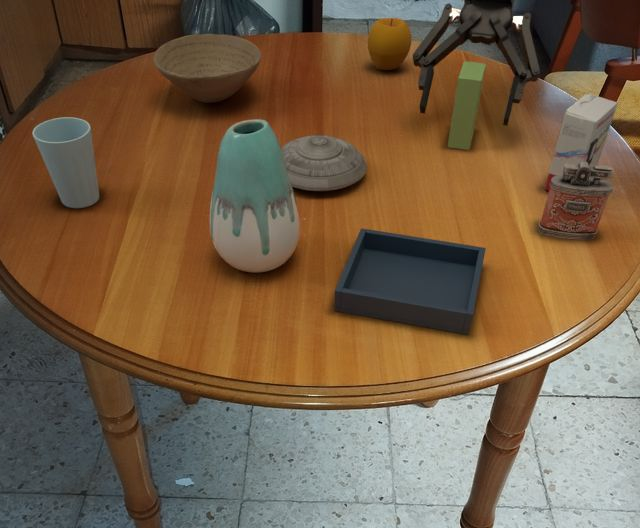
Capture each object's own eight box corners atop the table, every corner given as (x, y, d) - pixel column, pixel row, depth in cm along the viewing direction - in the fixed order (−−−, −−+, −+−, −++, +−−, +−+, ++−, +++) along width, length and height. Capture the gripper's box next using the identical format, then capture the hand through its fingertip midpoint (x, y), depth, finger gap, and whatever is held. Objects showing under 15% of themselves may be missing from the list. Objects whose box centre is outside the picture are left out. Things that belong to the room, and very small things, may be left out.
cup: (104, 182, 103) (87, 113, 96) (110, 208, 99) (92, 138, 91) (53, 189, 102) (31, 120, 94) (56, 216, 97) (33, 146, 89)
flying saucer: (289, 145, 112) (288, 111, 108) (377, 159, 109) (379, 125, 105) (256, 189, 103) (254, 154, 98) (351, 206, 100) (353, 171, 95)
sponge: (474, 131, 116) (486, 63, 108) (469, 150, 111) (481, 80, 103) (453, 128, 117) (463, 60, 108) (447, 147, 112) (458, 77, 104)
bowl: (223, 130, 115) (218, 81, 109) (139, 106, 121) (130, 58, 115) (281, 91, 126) (280, 45, 120) (201, 71, 132) (196, 25, 126)
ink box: (572, 200, 101) (597, 121, 93) (542, 189, 103) (563, 111, 94) (594, 177, 106) (620, 100, 97) (565, 167, 108) (587, 91, 99)
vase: (197, 252, 91) (178, 120, 78) (268, 224, 96) (261, 94, 83) (244, 295, 85) (232, 159, 72) (317, 262, 90) (318, 129, 77)
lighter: (537, 235, 95) (557, 168, 87) (537, 222, 97) (555, 155, 90) (596, 241, 94) (621, 174, 87) (594, 228, 96) (618, 161, 89)
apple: (387, 81, 130) (391, 30, 123) (356, 67, 134) (358, 18, 127) (417, 69, 134) (422, 19, 127) (386, 56, 138) (390, 8, 131)
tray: (481, 267, 90) (485, 247, 87) (468, 335, 81) (473, 314, 78) (359, 247, 92) (360, 228, 90) (334, 310, 83) (334, 290, 81)
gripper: (571, 3, 109) (539, 136, 110) (419, -13, 113) (390, 114, 115) (579, -26, 101) (544, 117, 103) (416, -42, 106) (385, 94, 108)
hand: (463, 116), depth 109 cm, fingers open, 13 cm apart
